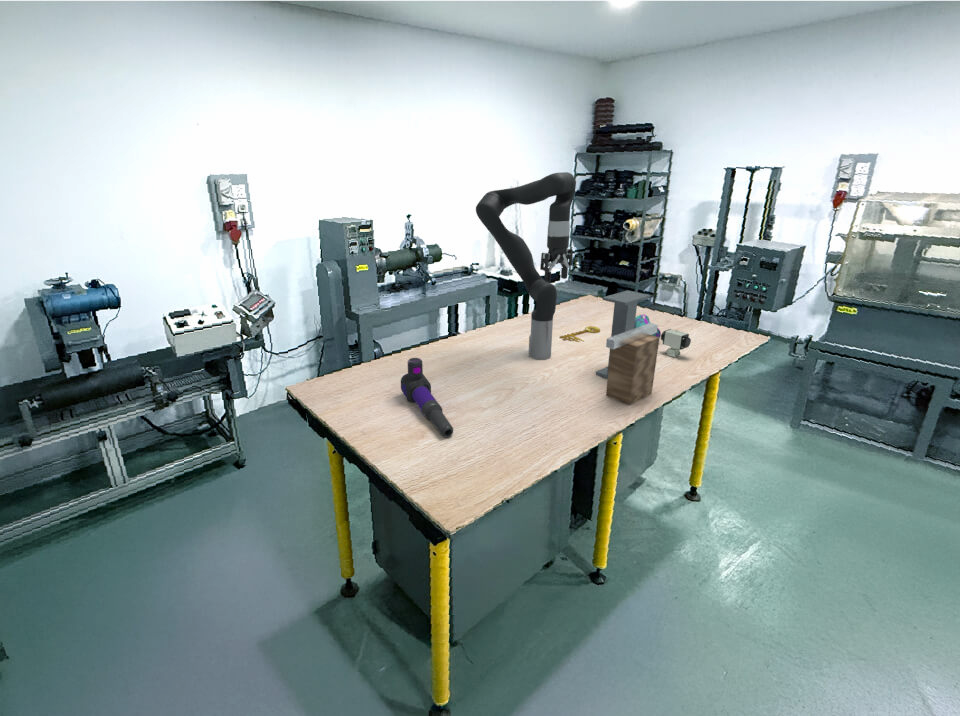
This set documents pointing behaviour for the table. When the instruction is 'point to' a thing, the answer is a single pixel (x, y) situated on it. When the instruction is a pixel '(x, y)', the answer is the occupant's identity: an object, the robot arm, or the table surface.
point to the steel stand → (622, 316)
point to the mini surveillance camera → (675, 341)
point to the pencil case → (644, 323)
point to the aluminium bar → (631, 336)
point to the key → (587, 329)
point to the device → (424, 396)
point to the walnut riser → (632, 370)
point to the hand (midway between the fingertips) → (555, 280)
